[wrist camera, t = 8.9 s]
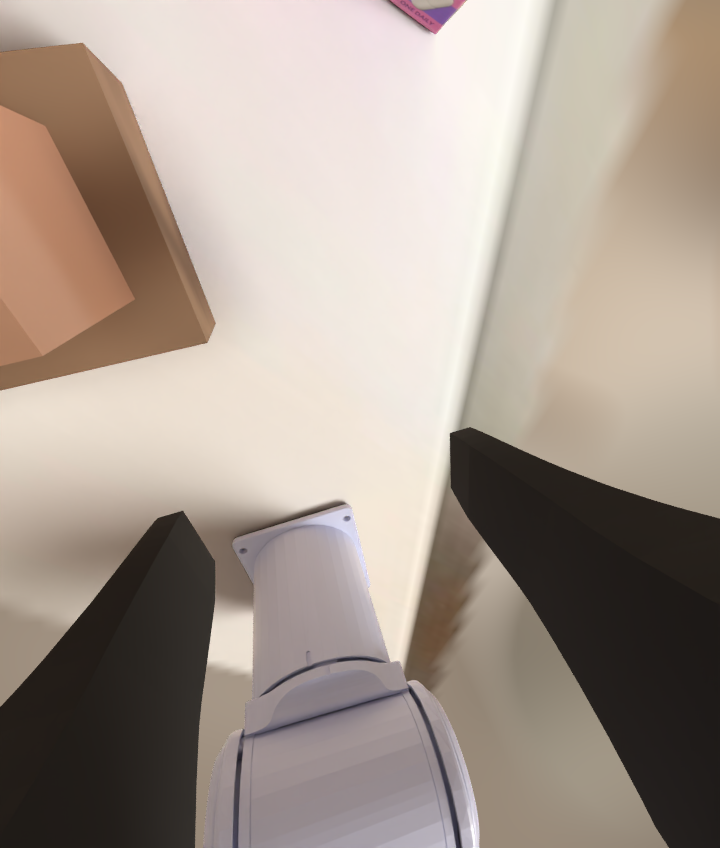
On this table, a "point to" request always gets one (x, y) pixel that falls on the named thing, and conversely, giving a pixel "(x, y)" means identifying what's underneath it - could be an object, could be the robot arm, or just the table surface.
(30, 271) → the peach cube
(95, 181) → the walnut slab
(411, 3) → the box
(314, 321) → the table surface
